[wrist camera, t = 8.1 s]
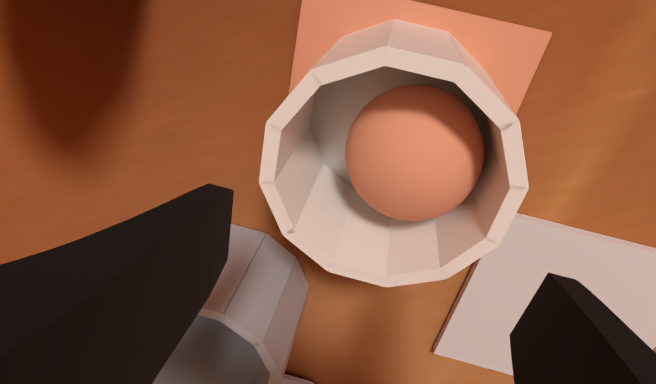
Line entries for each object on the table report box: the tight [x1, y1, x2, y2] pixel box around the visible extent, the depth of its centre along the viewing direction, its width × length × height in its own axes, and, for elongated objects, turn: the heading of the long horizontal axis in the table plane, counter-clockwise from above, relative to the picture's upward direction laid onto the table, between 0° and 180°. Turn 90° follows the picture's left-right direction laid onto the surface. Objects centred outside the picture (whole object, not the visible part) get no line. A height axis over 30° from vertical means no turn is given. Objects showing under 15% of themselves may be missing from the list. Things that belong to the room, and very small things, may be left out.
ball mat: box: [433, 213, 656, 375], centre depth 21 cm, size 10×10×1 cm
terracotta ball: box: [345, 85, 484, 221], centre depth 15 cm, size 5×5×5 cm
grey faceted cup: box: [152, 224, 309, 384], centre depth 22 cm, size 8×8×6 cm
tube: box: [259, 0, 552, 287], centre depth 15 cm, size 10×10×6 cm
